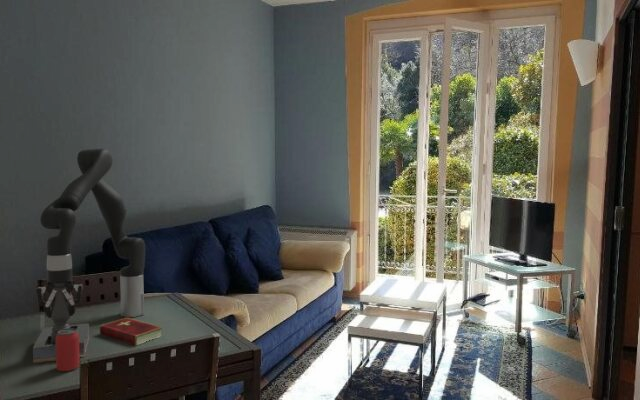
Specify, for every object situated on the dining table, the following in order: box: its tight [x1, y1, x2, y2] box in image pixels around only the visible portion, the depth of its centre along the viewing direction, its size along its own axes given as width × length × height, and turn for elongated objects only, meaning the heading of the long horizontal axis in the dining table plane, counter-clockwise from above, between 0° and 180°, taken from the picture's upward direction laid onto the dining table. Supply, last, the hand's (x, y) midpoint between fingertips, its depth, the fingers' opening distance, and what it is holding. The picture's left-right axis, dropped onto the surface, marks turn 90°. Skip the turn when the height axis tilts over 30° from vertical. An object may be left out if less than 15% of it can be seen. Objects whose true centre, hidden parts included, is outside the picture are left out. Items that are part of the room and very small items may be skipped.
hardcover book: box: [99, 317, 163, 347], centre depth 187 cm, size 12×21×4 cm, turn 58°
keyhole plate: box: [32, 322, 90, 363], centre depth 173 cm, size 15×21×5 cm
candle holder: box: [50, 283, 71, 344], centre depth 168 cm, size 6×6×25 cm
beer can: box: [55, 328, 80, 372], centre depth 156 cm, size 7×7×12 cm
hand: (60, 316), depth 168 cm, fingers closed on candle holder, 6 cm apart
